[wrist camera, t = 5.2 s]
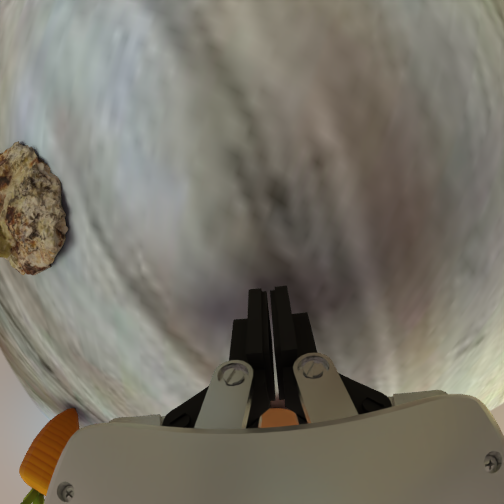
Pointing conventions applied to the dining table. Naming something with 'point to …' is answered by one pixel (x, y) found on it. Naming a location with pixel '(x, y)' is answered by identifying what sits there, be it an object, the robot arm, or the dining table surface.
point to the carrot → (47, 454)
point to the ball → (278, 418)
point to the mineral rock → (29, 211)
